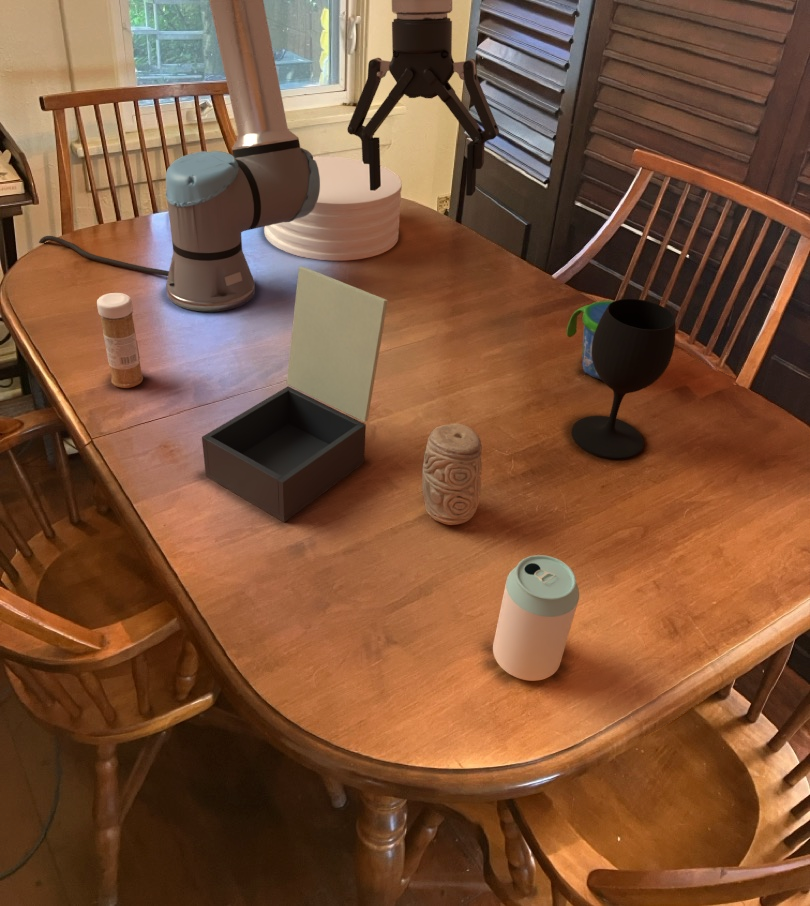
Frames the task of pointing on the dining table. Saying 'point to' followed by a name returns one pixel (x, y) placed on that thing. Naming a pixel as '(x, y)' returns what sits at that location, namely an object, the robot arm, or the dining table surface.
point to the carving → (452, 473)
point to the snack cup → (588, 332)
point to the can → (535, 617)
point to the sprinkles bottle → (120, 339)
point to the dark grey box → (284, 452)
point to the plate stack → (344, 215)
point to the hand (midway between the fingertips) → (422, 191)
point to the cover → (335, 342)
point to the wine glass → (625, 371)
